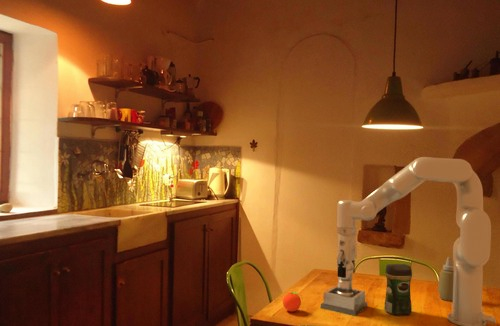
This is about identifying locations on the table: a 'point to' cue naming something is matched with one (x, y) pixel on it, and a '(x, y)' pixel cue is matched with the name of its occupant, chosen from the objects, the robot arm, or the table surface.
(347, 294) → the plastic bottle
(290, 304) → the clementine
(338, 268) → the robot arm
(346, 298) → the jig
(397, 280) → the coffee jar
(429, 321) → the table surface
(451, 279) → the squeeze bottle
